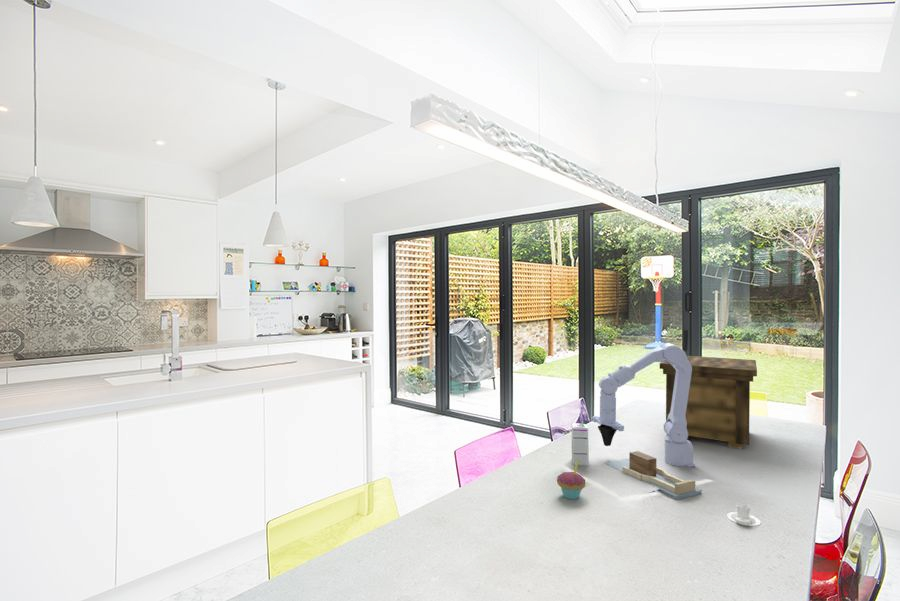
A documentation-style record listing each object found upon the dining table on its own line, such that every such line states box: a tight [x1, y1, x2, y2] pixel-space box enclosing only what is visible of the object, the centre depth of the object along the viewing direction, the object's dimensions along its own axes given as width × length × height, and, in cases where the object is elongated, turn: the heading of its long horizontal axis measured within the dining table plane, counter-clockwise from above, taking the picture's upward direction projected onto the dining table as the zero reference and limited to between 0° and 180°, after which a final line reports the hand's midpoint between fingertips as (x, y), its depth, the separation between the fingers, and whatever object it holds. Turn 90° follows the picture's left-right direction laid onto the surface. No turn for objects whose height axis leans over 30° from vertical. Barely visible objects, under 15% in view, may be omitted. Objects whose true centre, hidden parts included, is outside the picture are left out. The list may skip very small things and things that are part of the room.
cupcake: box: [556, 459, 586, 500], centre depth 144 cm, size 9×8×12 cm
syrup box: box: [571, 422, 590, 467], centre depth 170 cm, size 6×6×14 cm
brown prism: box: [628, 450, 657, 477], centre depth 160 cm, size 4×8×6 cm, turn 24°
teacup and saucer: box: [726, 502, 762, 527], centre depth 129 cm, size 9×8×4 cm
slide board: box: [604, 458, 702, 501], centre depth 158 cm, size 11×31×4 cm, turn 24°
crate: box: [659, 355, 758, 449], centre depth 206 cm, size 35×35×33 cm
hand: (607, 445), depth 175 cm, fingers closed
